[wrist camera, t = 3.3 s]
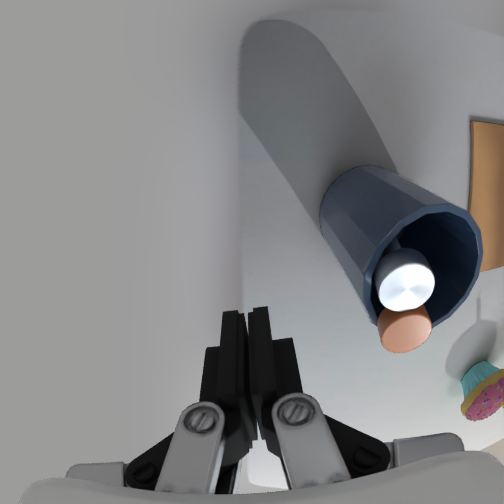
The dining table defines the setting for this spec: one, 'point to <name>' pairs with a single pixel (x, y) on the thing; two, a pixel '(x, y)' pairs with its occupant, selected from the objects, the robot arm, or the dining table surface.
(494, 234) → the placemat
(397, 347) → the tan cylinder
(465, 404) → the cupcake
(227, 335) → the robot arm
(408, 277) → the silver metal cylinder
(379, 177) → the cup
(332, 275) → the dining table surface
